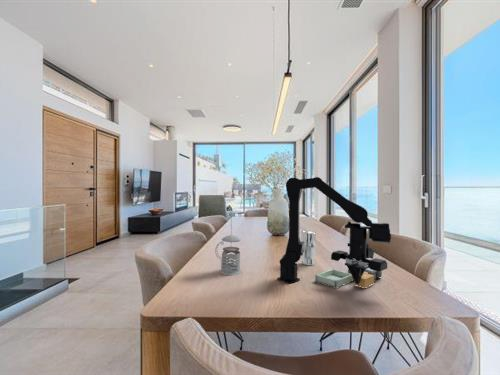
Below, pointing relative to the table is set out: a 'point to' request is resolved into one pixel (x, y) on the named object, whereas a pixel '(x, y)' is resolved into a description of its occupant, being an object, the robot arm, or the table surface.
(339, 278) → the tray
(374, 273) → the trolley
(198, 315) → the table surface
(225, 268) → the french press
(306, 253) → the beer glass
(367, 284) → the orange rectangular block
